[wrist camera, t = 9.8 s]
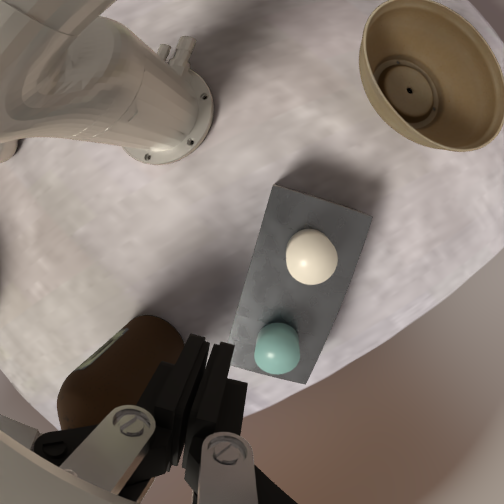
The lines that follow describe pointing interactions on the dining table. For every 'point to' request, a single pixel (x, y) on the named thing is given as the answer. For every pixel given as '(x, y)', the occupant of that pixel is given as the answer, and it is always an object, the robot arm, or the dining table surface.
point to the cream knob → (311, 257)
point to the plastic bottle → (7, 150)
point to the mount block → (288, 288)
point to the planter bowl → (431, 75)
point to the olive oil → (117, 371)
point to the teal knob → (277, 348)
